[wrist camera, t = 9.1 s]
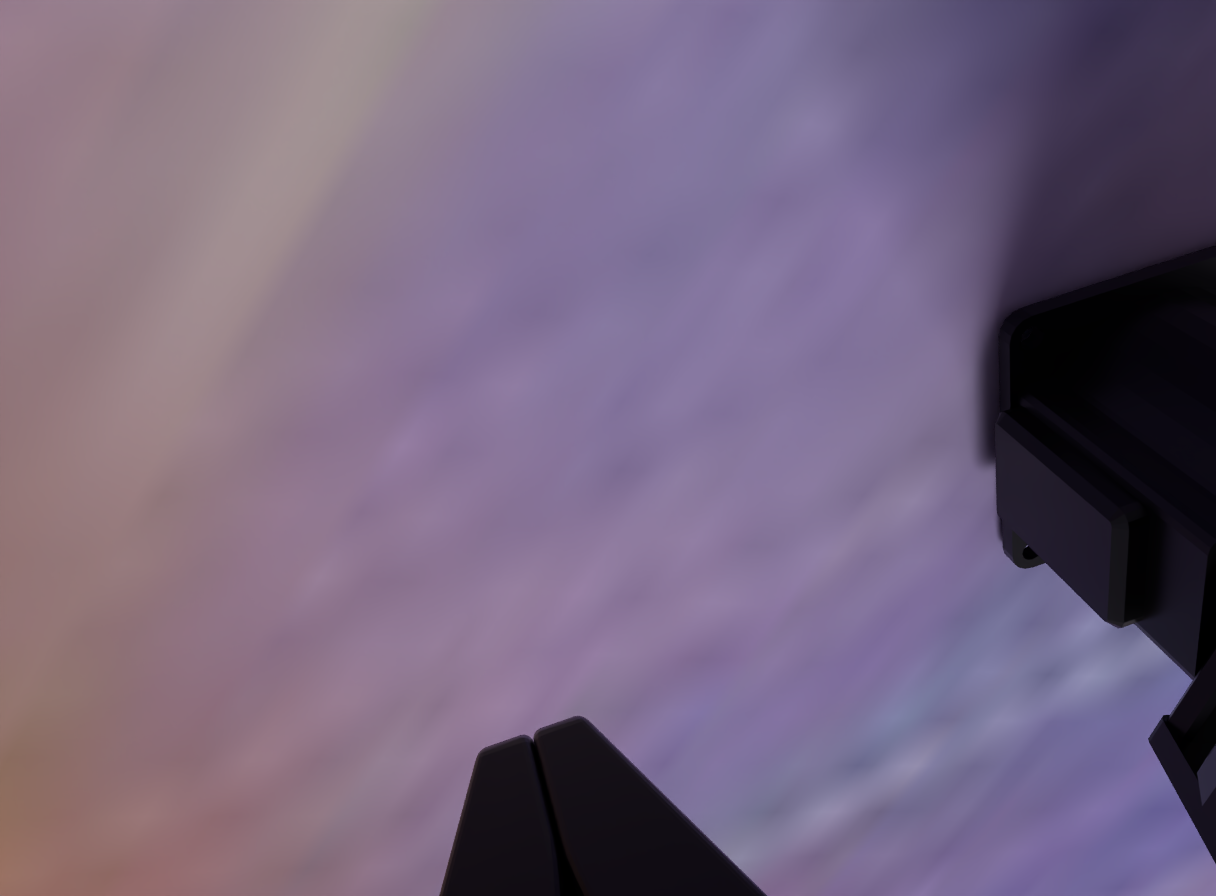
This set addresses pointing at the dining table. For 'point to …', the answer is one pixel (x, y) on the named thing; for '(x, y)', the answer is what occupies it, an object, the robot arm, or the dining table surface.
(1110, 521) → the robot arm
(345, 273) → the dining table surface
